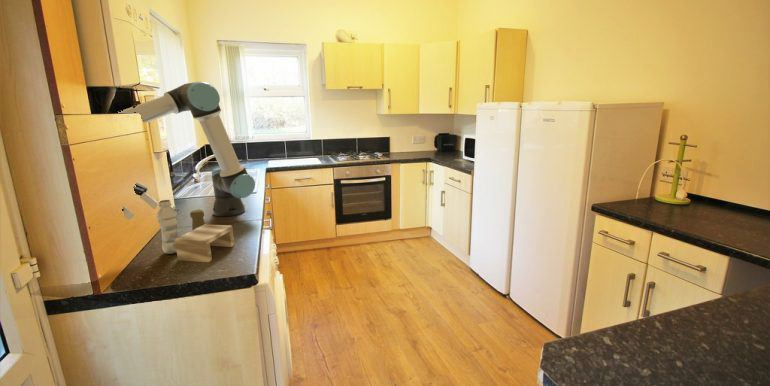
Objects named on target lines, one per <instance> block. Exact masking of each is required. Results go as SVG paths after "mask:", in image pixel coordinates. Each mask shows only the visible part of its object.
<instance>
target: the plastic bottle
mask: <svg viewBox="0 0 770 386" xmlns="http://www.w3.org/2000/svg"><path fill="white" fill-rule="evenodd" d="M158 203H159V205H158V207H159V209H158V211H157V214H156V220H157V222H158V224H159V228H160V232H161V242H162V243H161V249H162V251H163V252H164V253H165V254H167V255H171V254H172V255H173V254H177V250H176V244H175V239H176V238H178V237H180V234H179V230H178V229H179V228H178V215H177V214H178V213H177V211H176V210H175V209H174V208H173V207H172V203H171V200H170V199H163V200H159V201H158Z"/></svg>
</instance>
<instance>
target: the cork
mask: <svg viewBox="0 0 770 386" xmlns="http://www.w3.org/2000/svg"><path fill="white" fill-rule="evenodd" d="M189 214H190V215H189V216H190V218H191V221H192V222H191V223H192V229H191V231H192V230H194V229H196V228H198V227H200V226H202V225H204V224H206V223H205V218H204V217H205V212H204V211H203V210H202V209H195V210H191V211H190V213H189Z"/></svg>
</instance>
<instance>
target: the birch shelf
mask: <svg viewBox="0 0 770 386" xmlns="http://www.w3.org/2000/svg"><path fill="white" fill-rule="evenodd" d="M175 244H176V250H177V253H176V255H177V259H178V261H182V262H183V261H185V262H197V263H199V262H200V263H210V262H211V261H212V260H213V258H212V250H211V247H229V248H232V247H234V246H235V237H234V229H233V225H227V224H226V225H225V224H224V225H223V224H206V223H205V224H204V225H202V226H200V227H198V228H196V229H194V230H192V229H191V230H190V231H188V232H186V233H184V234H183V235H182V234H181V236H180V235H179V237H178V238H176V239H175Z"/></svg>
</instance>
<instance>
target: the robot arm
mask: <svg viewBox="0 0 770 386" xmlns="http://www.w3.org/2000/svg"><path fill="white" fill-rule="evenodd" d="M220 100H221V99H220V93H219V91H218V90H217V89H216V87H214V86H213V85H212V84H211V83H208V82H205V81H194V82H186V83H184V84H182V85H179V86H177V87H176V88H173V89H172V90H169V91H165V92H164V93H163V95H162V96H159V97H155V98H153V99H150V100H148V101H144V102H142V103H139V104H137V106H136V105H135V106H136V107H135V108H133V106H131V107H129V108H126V109H125V108H124V109H123V111H122V110H120V111H121V112H119V111H117V112H118V113H134V112H136V113H139V114H140V115H141V119H142V121H143V123H145V124H147V123H150V122H152V121H155V120H157V119H160V118H162V117H165V116H168V115H171V114H176V115H177V114H180V113H183V112H189V111H190V113H191V115H192V118H193V119H194V120H197V121H198V122H199V124H200V126H201V128H202V130H203V133H204V135H205V137H206V139H207V140H206V141H207V142H208V143H209V146H210V148H211V151H212V153H213V155H214V157H215V159H216V161H217V163H218V166H219V168H216V169H215V168H214V169H212V171H211V181H212V188H213V194H214V202H213V208H212V214H213V215H214V216H215V217H231V216H232V217H233V216H237V215H240V214H242V213H245V212H246V207H245V204H244V202H243V200H242V199H245V198H248V197H249V196H251V195H252V194H253V192H254V191H255V189H256V181H255V179H254V177H252V176H251V174H248V171H247V168H246V166H245V165H243V164H242V163H240V161H239V159H238V156H237V155H236V151H235V149H234V147H233V144H232V142H231V140H230V137H229V135H228V133H227V130H226V128H225V125H224V123H223V121H222V118H221V116H220V115H221V111H222V109H221V107H220ZM135 185H136V187H135V186H134V187H133V188H134V191H135V193H136V194H135V195H136V196H139V198H140V199H141V200H143V201H144V202H145V203H146V204H147V205H148V206H150V208H152V209H157V207H159V201H157V200H156V199H155V198H154V197H152V196H151V195H150V194H149V193H148V190H149V188H148V187H146V186H144V185H142V184H140V183H137V182H136V184H135ZM122 211H123V212H124V216H123V217H124V218H126V219H127V220H128V221H130V220H132V219H133V218H134V216H135V215H136V214H135V213H134V212H133V211H132V210H130V209H129V208H128V207H127V206H126V205H125V204H123V209H122Z"/></svg>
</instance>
